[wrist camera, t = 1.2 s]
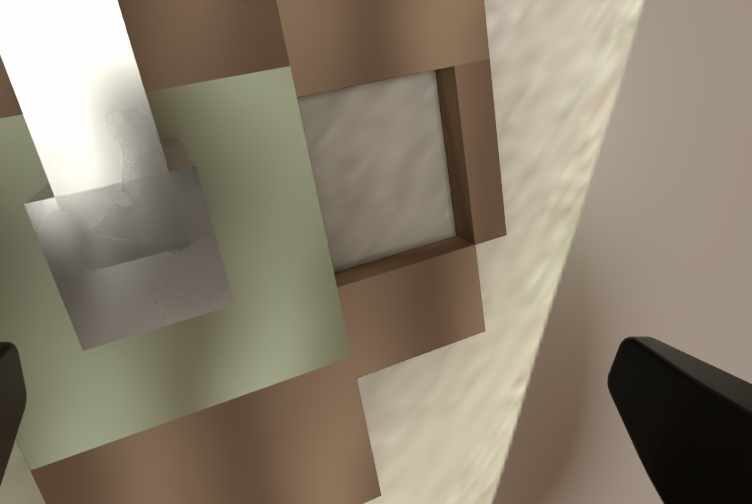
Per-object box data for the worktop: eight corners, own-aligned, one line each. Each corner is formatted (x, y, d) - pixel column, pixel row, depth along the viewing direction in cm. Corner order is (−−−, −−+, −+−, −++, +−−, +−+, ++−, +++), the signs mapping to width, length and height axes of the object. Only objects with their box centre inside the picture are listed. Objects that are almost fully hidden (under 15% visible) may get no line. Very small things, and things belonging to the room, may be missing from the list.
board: (103, 587, 22) (100, 619, 21) (-433, -578, 11) (-513, -670, 10) (506, 415, 28) (525, 432, 26) (411, -473, 17) (434, -522, 15)
